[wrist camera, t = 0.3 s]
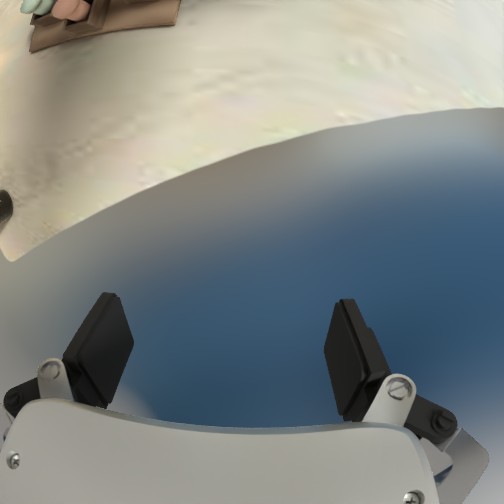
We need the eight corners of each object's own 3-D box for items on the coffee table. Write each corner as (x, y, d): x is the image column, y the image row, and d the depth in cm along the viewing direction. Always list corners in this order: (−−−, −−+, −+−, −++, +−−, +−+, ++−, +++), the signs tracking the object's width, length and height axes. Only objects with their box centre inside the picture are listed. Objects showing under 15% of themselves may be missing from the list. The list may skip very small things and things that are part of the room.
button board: (45, 6, 20) (29, 1, 16) (188, -27, 22) (181, -41, 18) (32, 52, 25) (15, 50, 21) (175, 24, 27) (164, 13, 23)
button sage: (45, 2, 18) (25, -5, 13) (62, -5, 18) (42, -14, 13) (39, 21, 20) (17, 16, 15) (56, 14, 20) (34, 7, 15)
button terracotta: (78, 6, 21) (56, -3, 15) (99, 0, 21) (79, -11, 15) (72, 28, 23) (49, 20, 17) (93, 22, 23) (71, 13, 17)
